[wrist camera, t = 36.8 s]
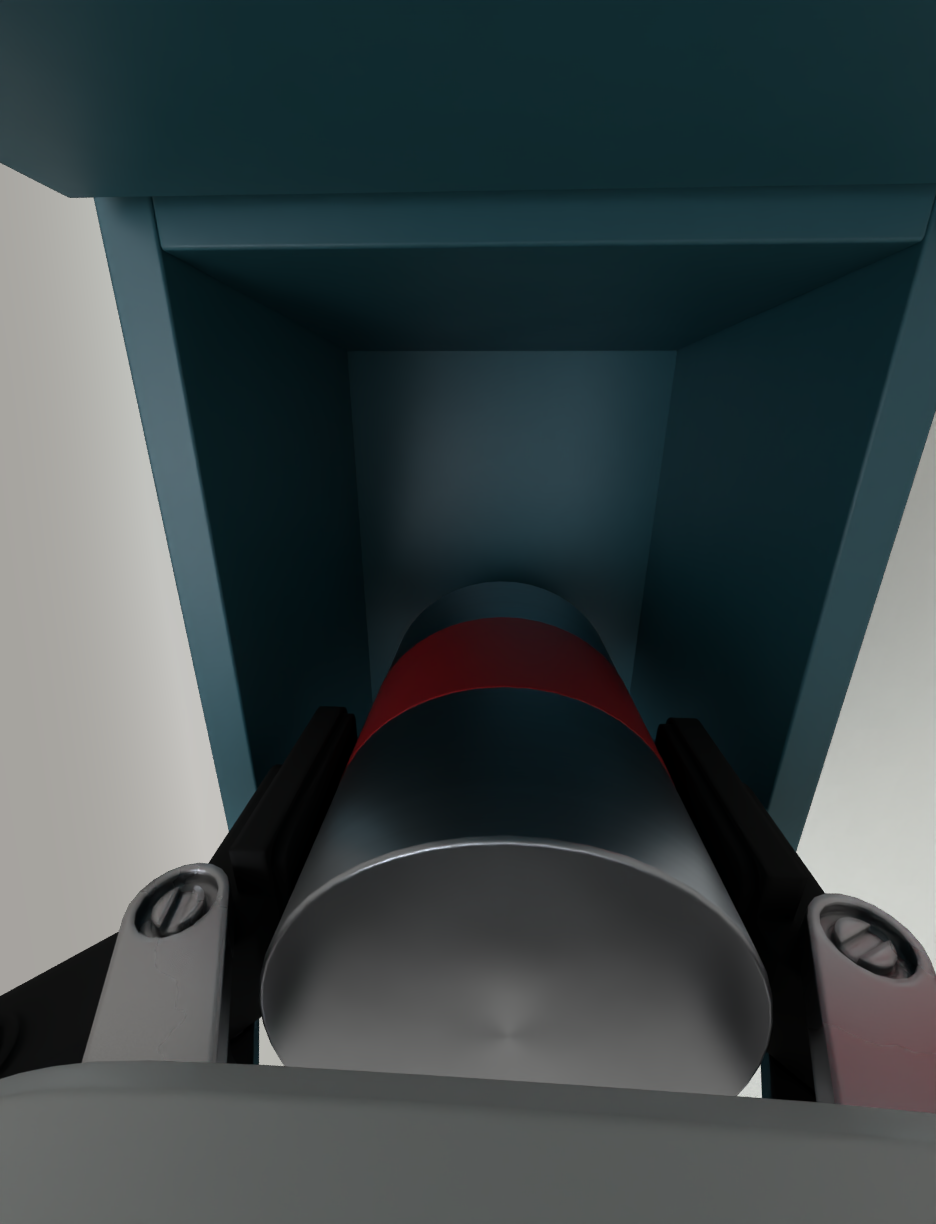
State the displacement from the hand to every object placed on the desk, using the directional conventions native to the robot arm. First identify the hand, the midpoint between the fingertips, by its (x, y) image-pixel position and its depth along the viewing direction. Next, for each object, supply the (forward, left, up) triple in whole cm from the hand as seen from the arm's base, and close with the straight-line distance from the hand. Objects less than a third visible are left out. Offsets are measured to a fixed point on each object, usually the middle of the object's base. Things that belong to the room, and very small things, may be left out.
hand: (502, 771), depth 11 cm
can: (0, 0, -4) cm, 4 cm away
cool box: (-1, 0, -9) cm, 9 cm away
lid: (-8, -4, +11) cm, 15 cm away
